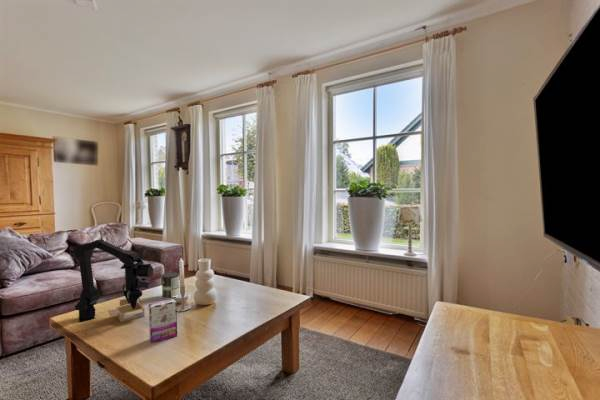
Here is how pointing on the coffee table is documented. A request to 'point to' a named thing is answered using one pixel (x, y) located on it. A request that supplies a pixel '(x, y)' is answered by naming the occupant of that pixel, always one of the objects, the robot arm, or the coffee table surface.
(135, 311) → the carton
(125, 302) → the flap left
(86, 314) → the robot arm
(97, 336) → the coffee table surface
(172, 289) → the coffee can
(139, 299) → the flap far
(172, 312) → the candy bar box
